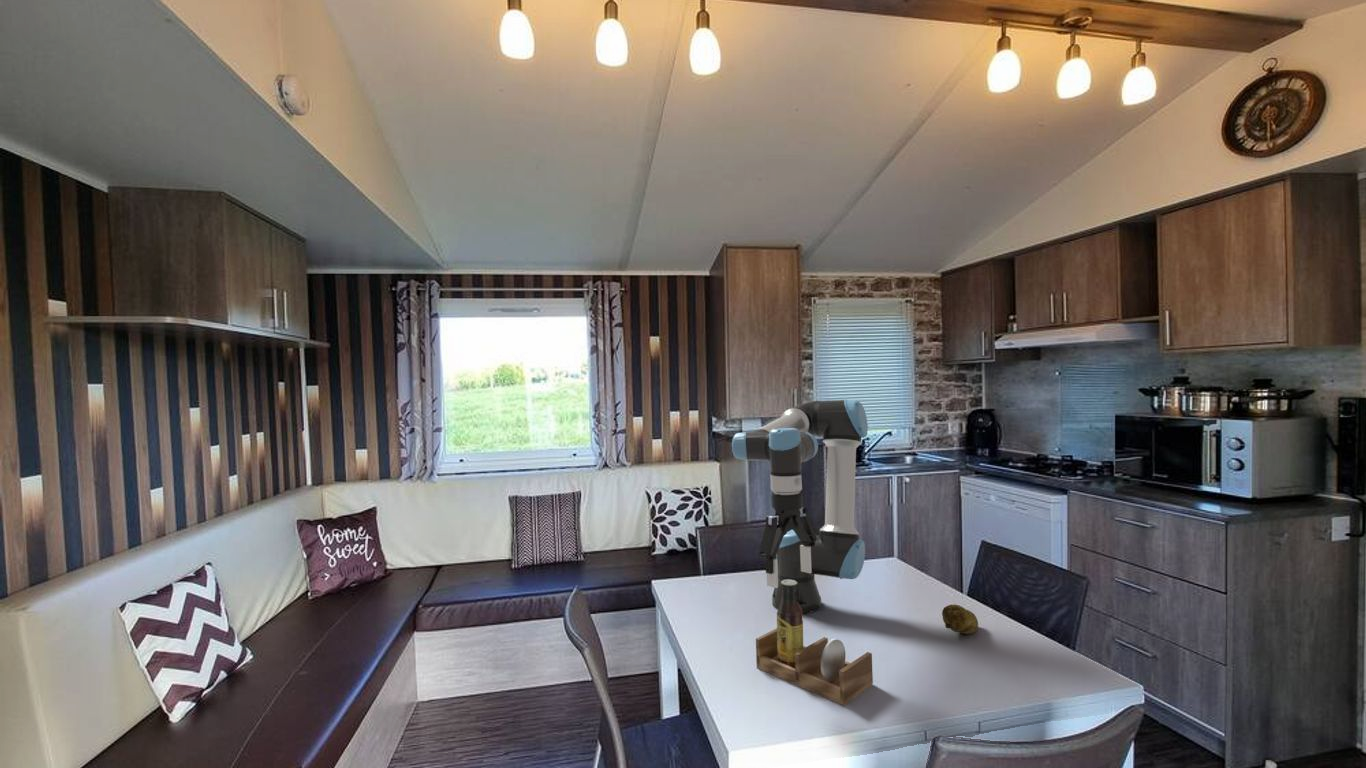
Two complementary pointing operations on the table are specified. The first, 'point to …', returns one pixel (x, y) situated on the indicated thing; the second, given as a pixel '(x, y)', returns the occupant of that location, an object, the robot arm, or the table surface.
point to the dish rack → (818, 668)
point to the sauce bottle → (789, 624)
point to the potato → (959, 619)
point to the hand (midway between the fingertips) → (790, 579)
